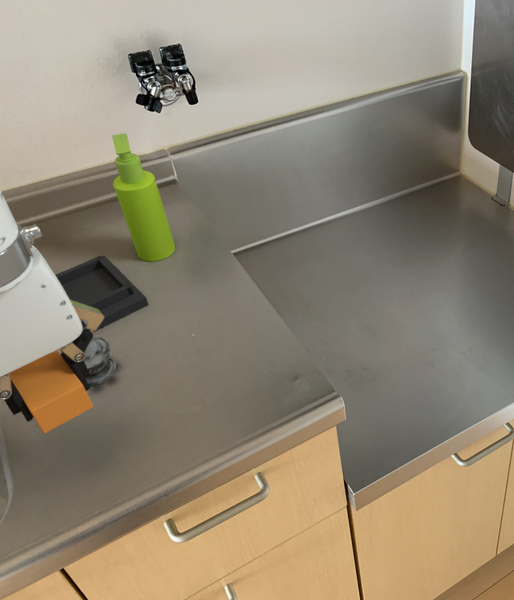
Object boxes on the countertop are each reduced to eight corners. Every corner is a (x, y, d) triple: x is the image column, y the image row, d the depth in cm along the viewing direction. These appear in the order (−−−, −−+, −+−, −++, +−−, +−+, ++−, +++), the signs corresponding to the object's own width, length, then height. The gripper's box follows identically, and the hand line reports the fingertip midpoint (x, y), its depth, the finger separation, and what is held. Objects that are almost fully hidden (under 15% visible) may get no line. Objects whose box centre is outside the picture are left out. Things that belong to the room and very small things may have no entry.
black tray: (81, 338, 84) (73, 322, 82) (42, 290, 92) (35, 275, 90) (148, 304, 90) (143, 289, 88) (107, 262, 97) (101, 247, 95)
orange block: (44, 434, 61) (31, 412, 58) (18, 394, 65) (5, 371, 62) (93, 406, 63) (83, 384, 61) (66, 369, 67) (55, 347, 65)
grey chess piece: (121, 352, 82) (92, 284, 74) (114, 385, 78) (81, 316, 70) (75, 358, 82) (41, 289, 74) (65, 391, 77) (27, 322, 69)
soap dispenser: (140, 269, 96) (99, 153, 83) (135, 245, 101) (96, 132, 87) (179, 259, 98) (144, 145, 84) (172, 236, 102) (138, 124, 89)
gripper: (62, 204, 58) (117, 339, 70) (-152, 282, 49) (-48, 421, 61) (96, 239, 54) (148, 375, 66) (-130, 330, 45) (-23, 469, 57)
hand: (53, 396), depth 64 cm, fingers closed on orange block, 5 cm apart
